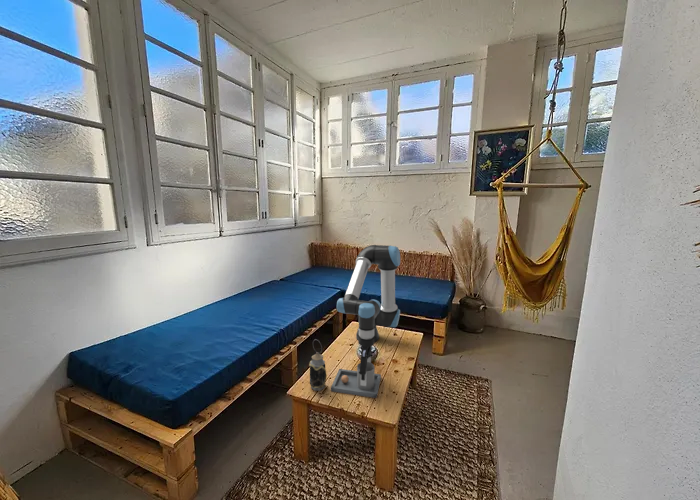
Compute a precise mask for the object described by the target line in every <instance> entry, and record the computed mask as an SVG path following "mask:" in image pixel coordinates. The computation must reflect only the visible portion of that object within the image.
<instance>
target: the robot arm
mask: <svg viewBox="0 0 700 500" xmlns="http://www.w3.org/2000/svg"><path fill="white" fill-rule="evenodd" d="M372 265H377V268H378V270H380V291H381V292H380V295H381V296H380V298H381V300H380V301H381V303H380V301H379V300H377V299H370V300H368V301H367V300H361V299H359V298H360V296H361V292H362V289H363V286H364V282H365V279H366V277H367V274H368V270H369V269H370V268H371V266H372ZM400 265H401V252H400V249H399V247H397V246H396V245H395V246H394V245H380V244H377V245H376V244H370V245H368V246H366V247H364V248H363V249H362V250H360V251H359V254H358V255H357V256H356V259H355V266H354V270H353V272H352V274H351V277H350V280H349V283H348V286H347V287H346V291H345V294H344V297H340V298H338V299H337V301H336V310H337V312H338V313H342V314H345V315H346V314H348V315H356V316H358V327H357V332H356V337H355V338H356V340H357V341H358V345H360V346H361V347H362V348H361V350H360V352H361V353H360V363H361V364H360V372H359V373H360V385H362V386H366V374H367V372H366V368H367V362H370V363H372V357H373V354H372V352H373V351H372V346H373V345H374V344H375V343H376V342H378V341H379V339H380V334H379V331H378V328H377V326H382V327H388V328H396V327H398V324H399V320H400V316H401V309H399V308H398V305H397V304H396V270H397V269H398V267H399V266H400Z"/></svg>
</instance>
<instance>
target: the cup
mask: <svg viewBox="0 0 700 500" xmlns="http://www.w3.org/2000/svg"><path fill="white" fill-rule="evenodd" d="M360 364H361V362H360V363H358V364H357V366H356V369H357V370H356V371H357V386H358V388H359V389H360V390H364V391H369V390H372V389H373V388H374V374H375V369H376V368H375V365H374V364H373V363H372V362H371V363H370V362H367V368H366V372H367V374H366V386H362V385H360V373H359V372H360Z"/></svg>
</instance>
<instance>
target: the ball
mask: <svg viewBox="0 0 700 500" xmlns="http://www.w3.org/2000/svg"><path fill="white" fill-rule="evenodd" d="M341 380H342V382H343V383H347V382H348V380H349V378H348V376H347V375H343V376H342V378H341Z"/></svg>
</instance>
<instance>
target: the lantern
mask: <svg viewBox="0 0 700 500" xmlns="http://www.w3.org/2000/svg"><path fill="white" fill-rule="evenodd" d="M315 341H318V339H316V338H315V339H314V340H313V341H312V343H314V342H315ZM318 343H319V344H320V347H321V351H320V352H318V351H316V349H315V347H314V345H312V348H313V350H314V351H316V353H315V354H313V355H312V356H311V360H310V361H309V364H308V367H309V385H310V388H311V389H312V390H313V391H315V392H317V391H318V392H320V391H322V390H323V389H325V387H326V385H325V384H326V381H327V369H326V364H325V363H326V361H325V360H324V355H322V354H321V353H322V352H323V346H322V343H321V342H320V341H318Z"/></svg>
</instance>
